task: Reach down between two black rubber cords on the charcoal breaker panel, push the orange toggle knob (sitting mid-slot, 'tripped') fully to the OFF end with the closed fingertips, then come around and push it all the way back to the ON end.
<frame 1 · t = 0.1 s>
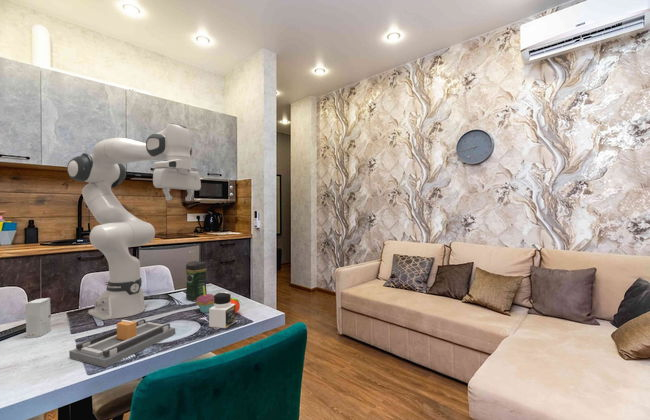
hand: (179, 200, 117), 48 cm above the table, fingers open, 8 cm apart
coffee jar: (196, 299, 148), on the table
skincare box: (38, 334, 107), on the table
cords: (126, 335, 98), point 3 cm above the table
clementine: (232, 315, 126), on the table
medicine bottle: (222, 324, 115), on the table
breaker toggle: (126, 329, 98), point 5 cm above the table, slide at 4.0 cm
breaker panel: (126, 344, 98), on the table
cupcake: (206, 311, 130), on the table
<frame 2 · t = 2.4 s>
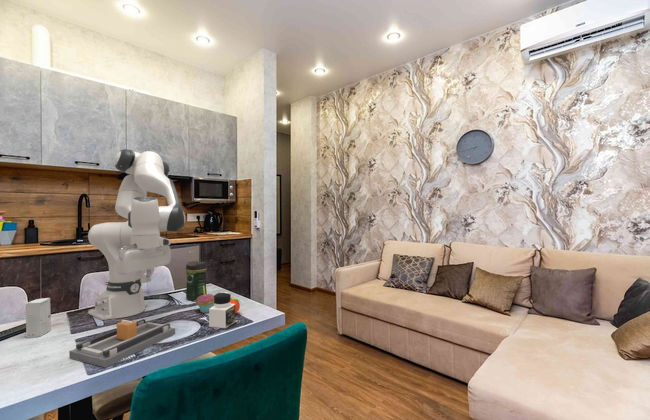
hand: (145, 282, 104), 19 cm above the table, fingers closed
nothing on the table moved.
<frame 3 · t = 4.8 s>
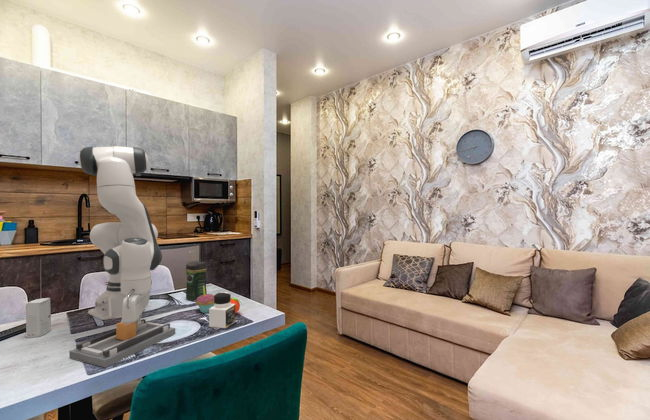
hand: (136, 326, 101), 5 cm above the table, fingers closed
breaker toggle: (126, 329, 98), point 5 cm above the table, slide at 4.3 cm, touching gripper
everything else where it was.
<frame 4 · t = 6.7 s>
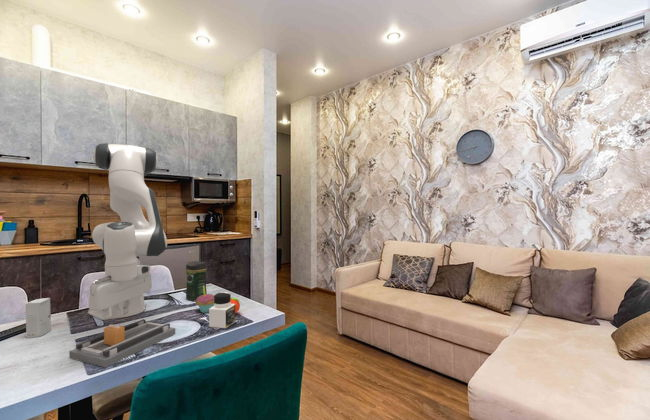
hand: (123, 313, 98), 10 cm above the table, fingers closed
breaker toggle: (114, 334, 94), point 5 cm above the table, slide at 8.0 cm
everything else where it was.
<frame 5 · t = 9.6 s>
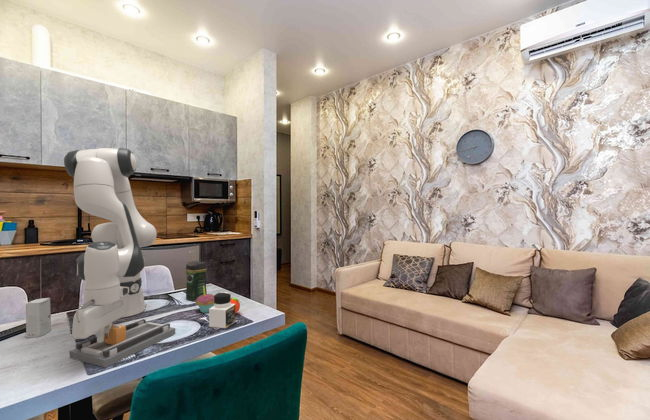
hand: (103, 340, 91), 4 cm above the table, fingers closed
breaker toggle: (115, 333, 95), point 5 cm above the table, slide at 7.6 cm, touching gripper
everything else where it was.
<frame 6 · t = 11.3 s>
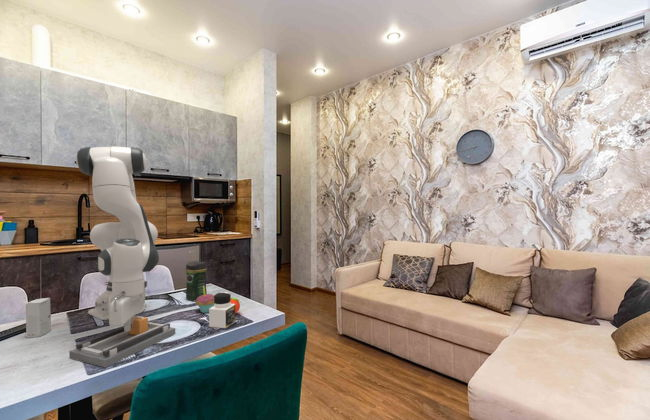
hand: (128, 329, 99), 5 cm above the table, fingers closed
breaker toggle: (138, 324, 102), point 5 cm above the table, slide at -0.1 cm, touching gripper
everything else where it was.
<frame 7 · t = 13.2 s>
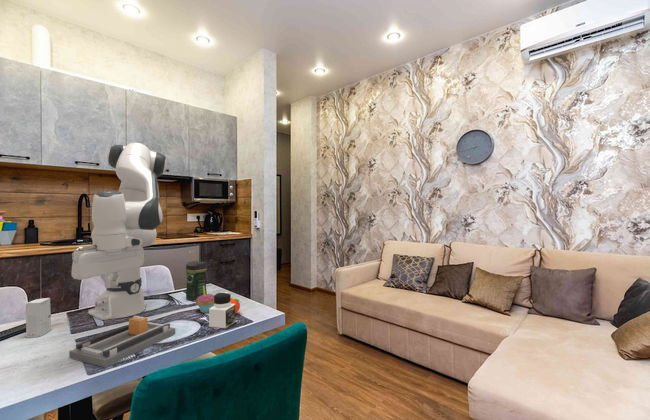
hand: (111, 286, 94), 20 cm above the table, fingers closed
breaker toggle: (138, 324, 102), point 5 cm above the table, slide at 0.0 cm
everything else where it was.
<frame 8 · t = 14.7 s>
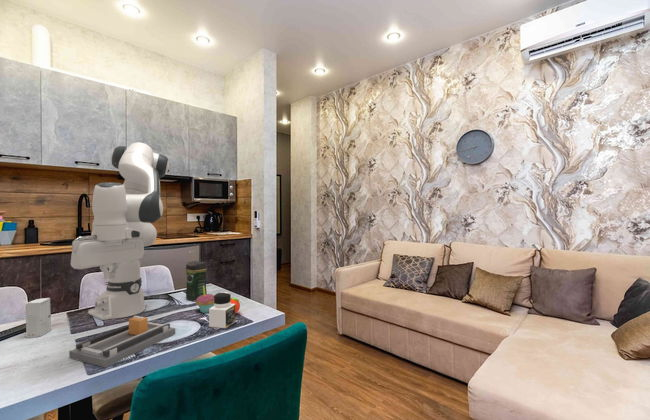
hand: (110, 278, 93), 23 cm above the table, fingers closed
nothing on the table moved.
at the end: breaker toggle slide at 0.0 cm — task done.
